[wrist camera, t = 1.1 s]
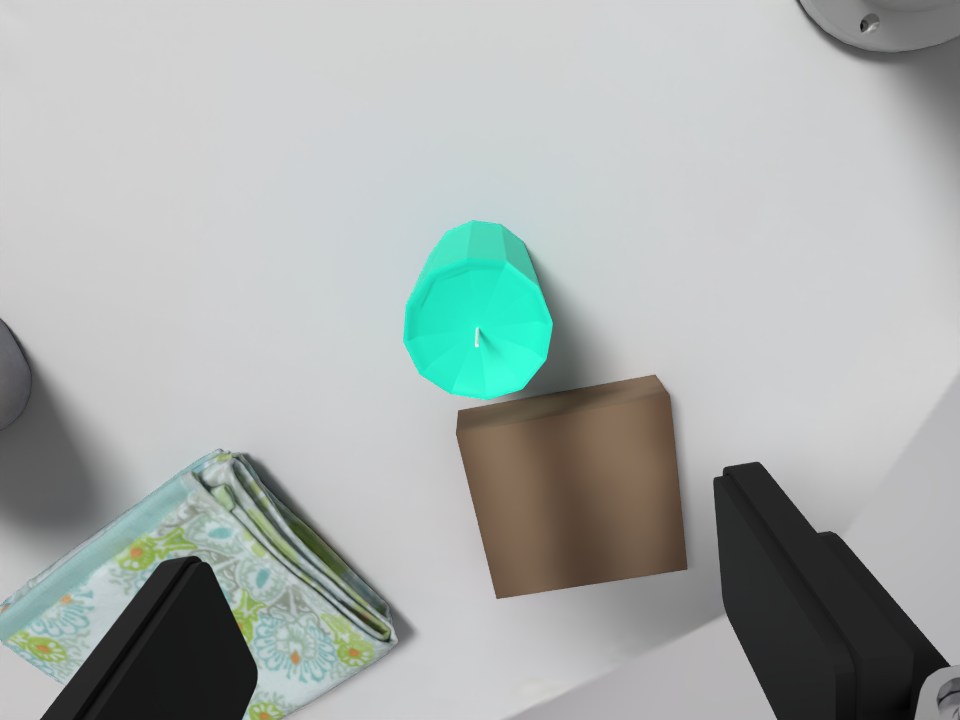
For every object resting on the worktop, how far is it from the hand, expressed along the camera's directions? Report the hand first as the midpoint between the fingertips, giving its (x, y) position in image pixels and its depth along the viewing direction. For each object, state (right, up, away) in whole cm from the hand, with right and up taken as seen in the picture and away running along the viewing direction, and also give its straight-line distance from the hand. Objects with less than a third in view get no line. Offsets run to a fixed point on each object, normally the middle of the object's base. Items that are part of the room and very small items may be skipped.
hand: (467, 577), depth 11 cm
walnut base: (+6, -4, +27) cm, 28 cm away
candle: (0, +9, +23) cm, 24 cm away
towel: (-18, -13, +31) cm, 39 cm away
